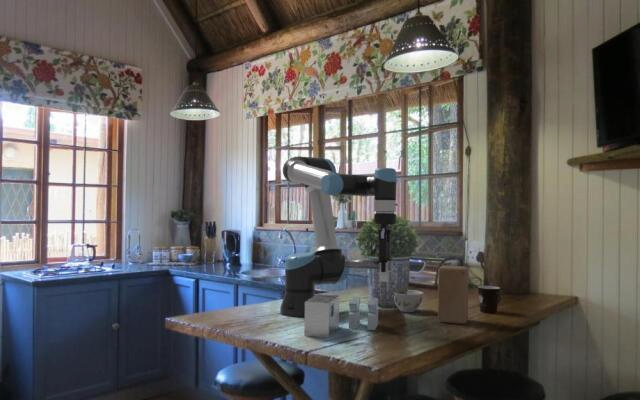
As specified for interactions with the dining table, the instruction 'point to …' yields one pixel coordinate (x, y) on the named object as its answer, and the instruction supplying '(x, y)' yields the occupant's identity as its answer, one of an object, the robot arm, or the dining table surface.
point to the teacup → (408, 300)
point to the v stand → (355, 313)
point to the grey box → (321, 315)
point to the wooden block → (453, 294)
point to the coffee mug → (488, 298)
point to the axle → (364, 264)
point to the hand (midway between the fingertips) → (384, 280)
